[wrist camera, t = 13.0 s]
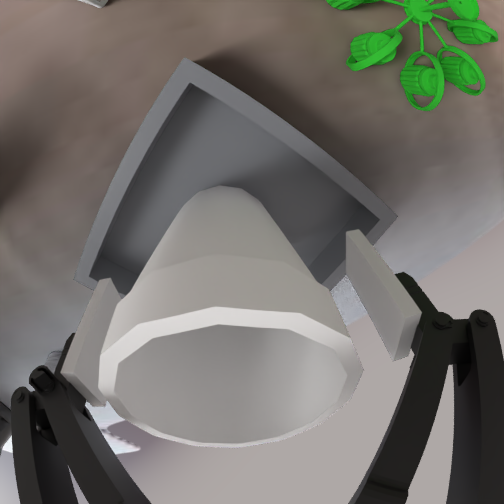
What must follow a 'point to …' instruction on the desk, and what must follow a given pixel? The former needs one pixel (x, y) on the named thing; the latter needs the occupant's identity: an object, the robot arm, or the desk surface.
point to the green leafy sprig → (428, 78)
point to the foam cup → (227, 333)
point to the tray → (225, 181)
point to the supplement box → (96, 2)
